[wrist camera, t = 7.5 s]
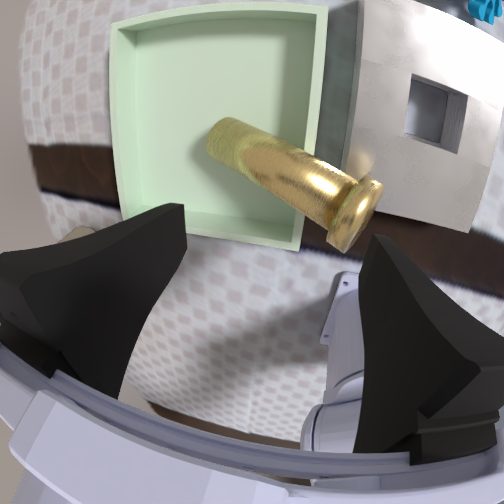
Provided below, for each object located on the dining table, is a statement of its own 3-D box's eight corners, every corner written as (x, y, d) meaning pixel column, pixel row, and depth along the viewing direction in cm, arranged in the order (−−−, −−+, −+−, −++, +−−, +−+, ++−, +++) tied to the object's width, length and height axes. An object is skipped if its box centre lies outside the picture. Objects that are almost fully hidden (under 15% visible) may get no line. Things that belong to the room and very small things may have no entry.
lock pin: (252, 133, 19) (379, 205, 15) (216, 176, 19) (342, 260, 15) (232, 97, 15) (389, 171, 11) (189, 144, 15) (344, 240, 11)
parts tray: (301, 230, 22) (298, 251, 19) (141, 207, 24) (123, 223, 21) (326, 18, 13) (328, 6, 10) (134, 27, 15) (111, 23, 12)
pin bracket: (453, 214, 18) (468, 233, 15) (336, 186, 19) (339, 203, 17) (485, 48, 10) (507, 46, 7) (358, 0, 11) (364, -14, 9)
